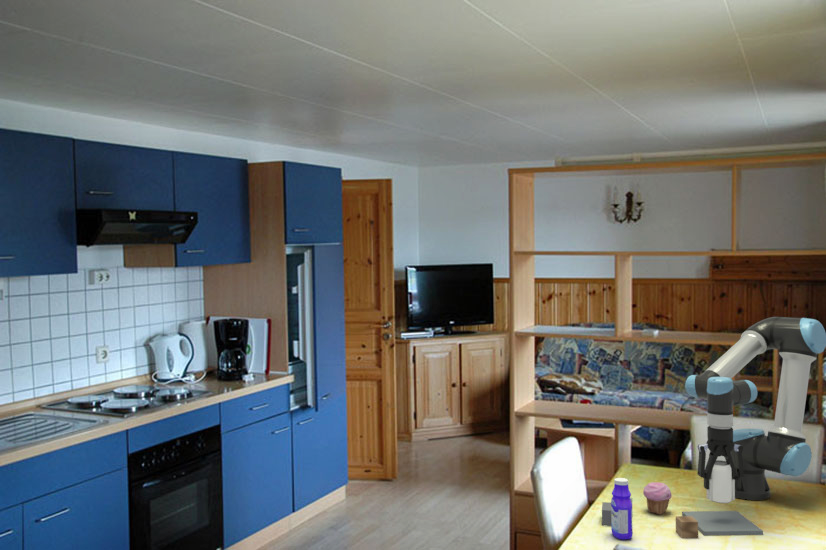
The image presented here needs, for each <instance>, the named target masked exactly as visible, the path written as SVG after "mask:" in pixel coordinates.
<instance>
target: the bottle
mask: <svg viewBox="0 0 826 550" xmlns="http://www.w3.org/2000/svg"><path fill="white" fill-rule="evenodd" d="M613 482H614V486H613V489H612V491H611V494H612V495H611V496H612V497H611V501H610V503H611V526H610V527H611V534H612V535H613V536H614V537H615V538H617V539H619V540H630V539H631V538H632V537H633V534H634V533H633V501H632V502H631V499H630V496H632V493H631V491H630V490H629V480H628V479H627V478H624V477H617V478H614V481H613Z"/></svg>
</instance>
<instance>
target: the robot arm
mask: <svg viewBox="0 0 826 550" xmlns="http://www.w3.org/2000/svg"><path fill="white" fill-rule="evenodd" d="M825 349H826V330H825V328H824V326H823V324H822V323H821V322H820V321H819V320H817V319H816V318H815V319H814V318H809V317H808V318H807V317H784V316H771V317H768V318H764V319H762V320H760V321H758V322H756V323H754V324H752V325H751V326H749V327H748V328H747V329H745V331H744V332H742V333H741V336H740V338H739V340H738V341H737V342H736V343H734V344H733V345H732V346H731V347H730V348H729V349H728V350H727V351H726V352H725V353H724V354H722V355H721V356H720V357H718V358H717V360H716V361H714V363H712V364H711V365H710V366H709V367H707V369H706V370H705V371H703V372H702V374H701V373H700V375H699V374H692V375H689V376H688V377H687V379H686V380H685V385H684V387H685V391H686V393H687V395H689V396H690V397H694V398H697V399H702V400H703V399H704V400H706V401H707V413H706V415H707V416H706V417H707V418H706V419H707V427H706V428H707V429H706V431H707V441H706V442H705V444H698V445H697V449H698V461H697V463H698V464H697V476H699V477H701V478H703V487H704V489H705V490H706V499H707V500H709V502H711V501H712V502H713V498H712V479H710V476H711V473H712V469H713V467H714V464H715V461H716V460H717V459H718V457H723V458H724V461H726V462H727V463H728V464H730V467H731V471H732V501H735V500H736V499H739V498H740V500H745V499H747V500H748V501H764V499H765V500H768V499H770V498H771V489H770V488H771V487H770V485H769V483H768V479H767V477H766V473H765V471H767V472H768V471H769V472H773V473H778V474H781V475H783V476H791V477H801V476H802V475H803V474H804V473H805V472H806V471H807V470H808V469H809V466H810V464H811V461H812V457H813V452H812V448H811V446H810V445H809V444H808V443H806V441H807V438H806V436H805V435H804V434H803V424H804V417H805V409H806V401H807V395H808V394H807V393H808V388H809V387H808V386H809V380H810V379H809V378H810V372H811V365H812V363H813V362H814V361H816V360H817V356H818V355H819V354H822V353H823V352H824V351H825ZM768 350H779V351H778V354H779V356H780V357H781V358H782V364H781V371H780V372H781V373H780V379H779V384H778V385H779V387H778V393H777V401H776V406H775V407H776V409H775V415H774V423H773V427H771V428H770V429H768V431H767V435H766V432H765V430H763V429H761V428H737V429H734V428H733V426H734V406H741V405H747V404H749V403H753V402H755V400H756V399H757V397H758V389H757V386H756V385H755V383H754V382H752V381H751V380H748V379H740V380H735V379H733V378H734V377H735V376H736V375H737V374H738V373H739V372H740V371H741V370H742V369H743V368H744V367H745V366H747V364H749V363H750V362H751V361H752V360H753V359H754V358H755V357H756V356H757V355H761V354H765V352H766V351H768ZM707 449H708V450H709V454H708V459H707V462H706V458H707V456H706V455H707V454H706V453H707ZM769 497H770V498H769ZM767 498H768V499H767Z"/></svg>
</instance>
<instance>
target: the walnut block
mask: <svg viewBox="0 0 826 550" xmlns="http://www.w3.org/2000/svg"><path fill="white" fill-rule="evenodd" d="M675 533H676V534H677V535H678V536H679V537H680V538H681V539H699V530H698V521H697V520H696V519H694V518H693V517H692V516H682V515H678V516H677V515H676V516H675Z"/></svg>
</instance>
